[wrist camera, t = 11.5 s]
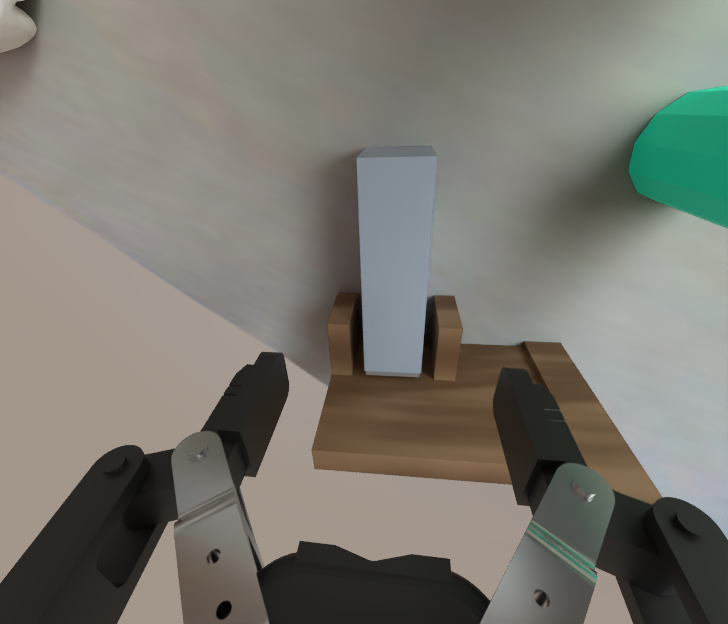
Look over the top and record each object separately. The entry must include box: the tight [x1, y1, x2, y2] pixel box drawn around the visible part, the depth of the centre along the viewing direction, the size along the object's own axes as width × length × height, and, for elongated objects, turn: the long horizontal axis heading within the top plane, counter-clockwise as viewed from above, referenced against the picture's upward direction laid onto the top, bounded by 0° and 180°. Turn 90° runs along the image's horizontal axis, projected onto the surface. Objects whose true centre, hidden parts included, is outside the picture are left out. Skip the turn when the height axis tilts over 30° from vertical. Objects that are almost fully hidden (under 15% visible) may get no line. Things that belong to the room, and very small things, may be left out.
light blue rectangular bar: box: [357, 146, 438, 377], centre depth 22 cm, size 14×4×5 cm, turn 2°
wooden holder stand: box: [312, 293, 663, 505], centre depth 22 cm, size 7×18×13 cm, turn 91°
